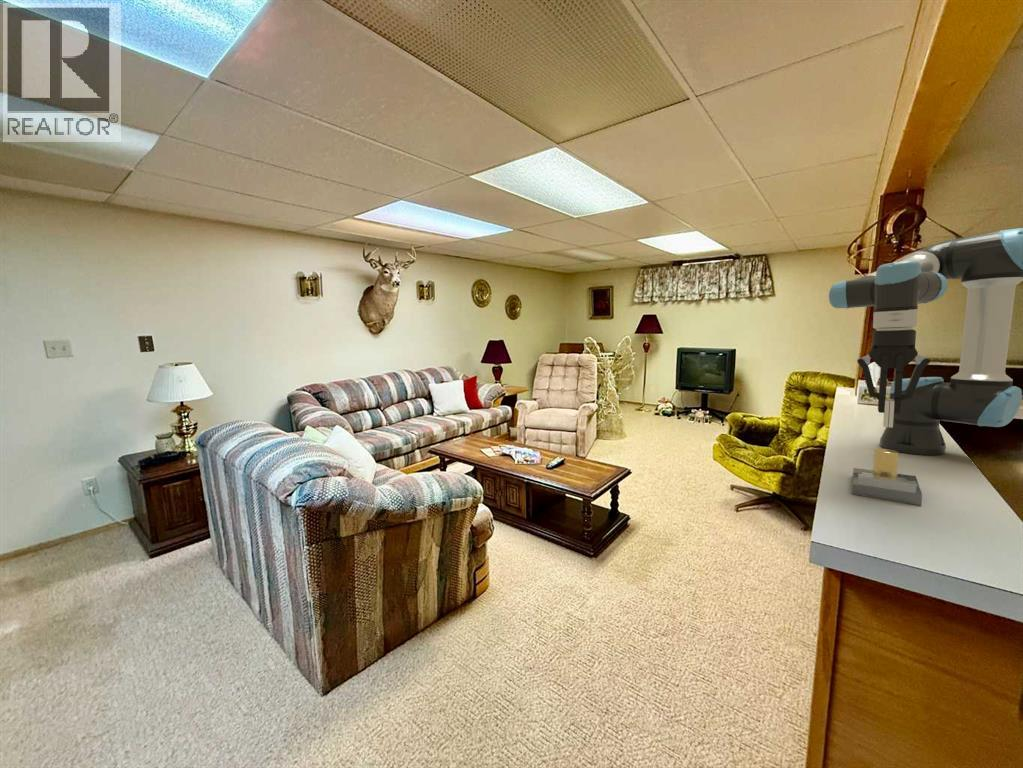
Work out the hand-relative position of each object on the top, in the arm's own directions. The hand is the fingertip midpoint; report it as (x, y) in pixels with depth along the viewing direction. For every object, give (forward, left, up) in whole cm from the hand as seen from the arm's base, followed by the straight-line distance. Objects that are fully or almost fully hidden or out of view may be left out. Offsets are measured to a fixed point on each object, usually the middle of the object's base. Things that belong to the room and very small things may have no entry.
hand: (887, 426), depth 98 cm
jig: (0, 0, -16) cm, 16 cm away
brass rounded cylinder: (0, 0, -16) cm, 16 cm away
